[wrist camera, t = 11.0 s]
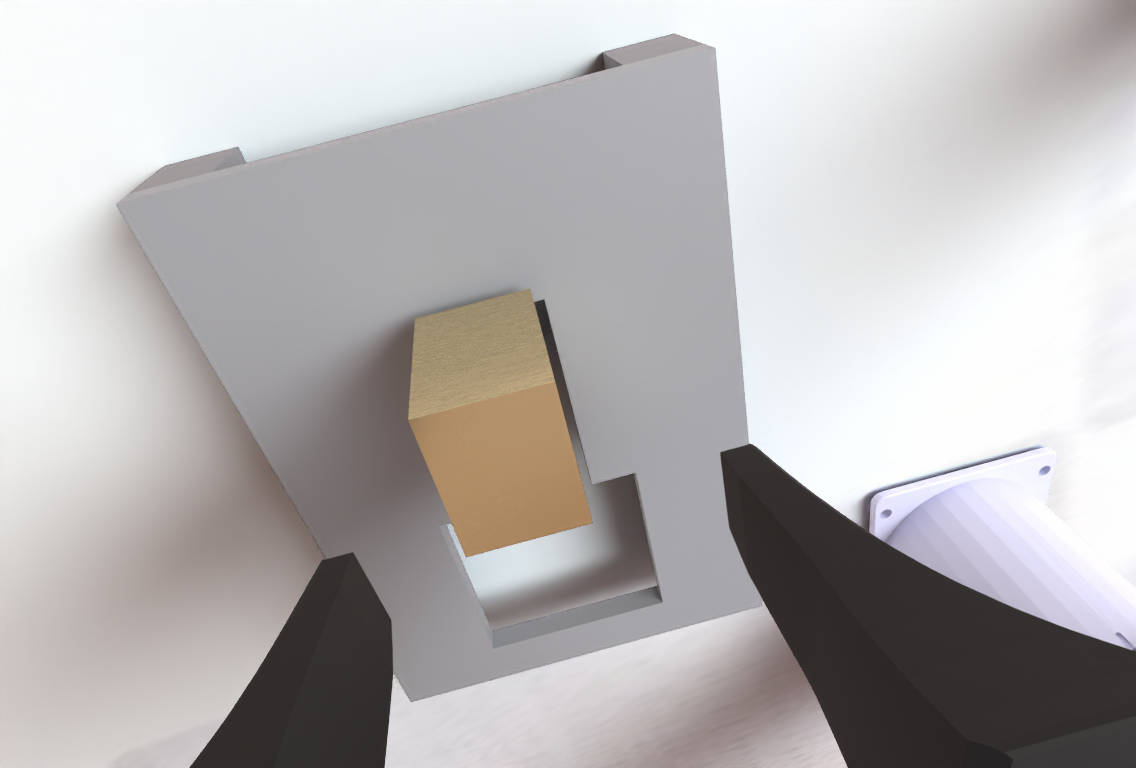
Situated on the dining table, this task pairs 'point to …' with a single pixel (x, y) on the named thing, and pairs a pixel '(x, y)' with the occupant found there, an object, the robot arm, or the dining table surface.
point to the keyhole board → (469, 275)
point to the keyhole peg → (495, 422)
